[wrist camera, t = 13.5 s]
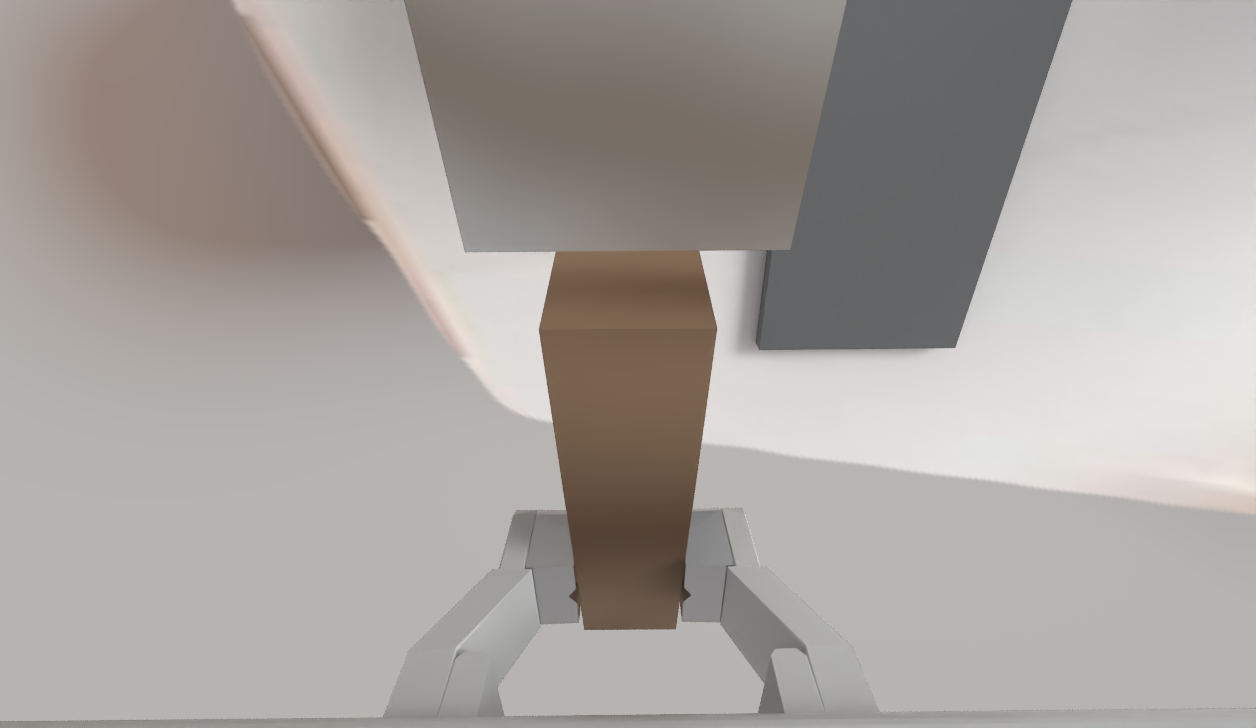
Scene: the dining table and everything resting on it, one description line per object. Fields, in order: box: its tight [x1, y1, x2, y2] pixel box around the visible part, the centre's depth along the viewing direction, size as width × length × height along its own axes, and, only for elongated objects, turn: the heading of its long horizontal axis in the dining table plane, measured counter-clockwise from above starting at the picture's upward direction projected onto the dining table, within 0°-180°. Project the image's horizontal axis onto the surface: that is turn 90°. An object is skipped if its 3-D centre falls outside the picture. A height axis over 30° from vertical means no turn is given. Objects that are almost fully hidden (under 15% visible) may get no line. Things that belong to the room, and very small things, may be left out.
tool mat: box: [756, 0, 1072, 350], centre depth 26 cm, size 20×12×1 cm, turn 1°
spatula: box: [404, 0, 847, 630], centre depth 9 cm, size 14×5×3 cm, turn 1°
